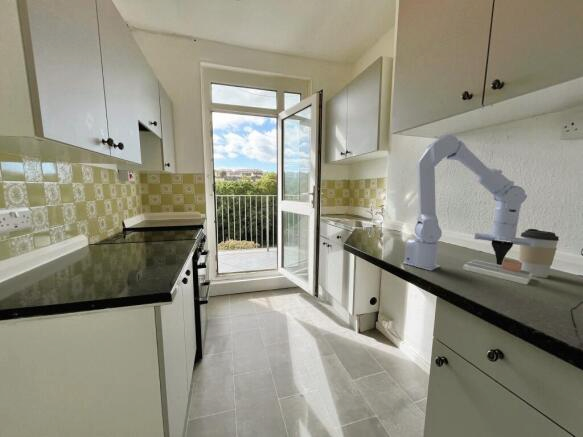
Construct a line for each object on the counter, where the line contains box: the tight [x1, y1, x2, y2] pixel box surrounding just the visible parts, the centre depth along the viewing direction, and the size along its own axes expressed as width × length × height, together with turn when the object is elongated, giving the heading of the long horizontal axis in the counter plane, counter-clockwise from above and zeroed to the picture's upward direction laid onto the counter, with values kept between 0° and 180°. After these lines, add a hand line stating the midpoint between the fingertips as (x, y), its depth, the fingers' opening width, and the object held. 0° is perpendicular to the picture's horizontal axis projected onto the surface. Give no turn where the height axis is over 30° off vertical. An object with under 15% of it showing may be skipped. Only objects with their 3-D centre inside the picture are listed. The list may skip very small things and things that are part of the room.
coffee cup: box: [518, 228, 560, 279], centre depth 80 cm, size 9×9×15 cm
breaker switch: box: [502, 258, 522, 273], centre depth 76 cm, size 4×4×4 cm
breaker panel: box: [462, 259, 533, 286], centre depth 79 cm, size 16×9×2 cm, turn 39°
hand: (499, 264), depth 79 cm, fingers closed
